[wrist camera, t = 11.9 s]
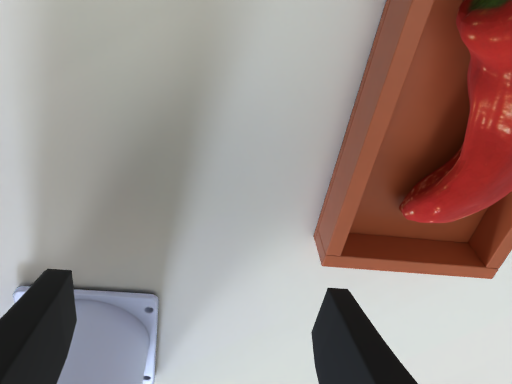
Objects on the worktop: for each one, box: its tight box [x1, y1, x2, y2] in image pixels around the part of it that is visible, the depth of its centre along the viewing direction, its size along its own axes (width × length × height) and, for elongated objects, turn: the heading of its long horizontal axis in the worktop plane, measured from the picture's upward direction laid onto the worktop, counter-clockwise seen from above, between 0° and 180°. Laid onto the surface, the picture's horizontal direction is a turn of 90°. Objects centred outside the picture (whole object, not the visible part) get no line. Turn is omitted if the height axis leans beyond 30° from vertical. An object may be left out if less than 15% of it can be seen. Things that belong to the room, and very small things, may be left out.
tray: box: [314, 0, 512, 279], centre depth 18 cm, size 18×10×2 cm, turn 171°
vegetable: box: [399, 0, 512, 223], centre depth 17 cm, size 4×5×12 cm
